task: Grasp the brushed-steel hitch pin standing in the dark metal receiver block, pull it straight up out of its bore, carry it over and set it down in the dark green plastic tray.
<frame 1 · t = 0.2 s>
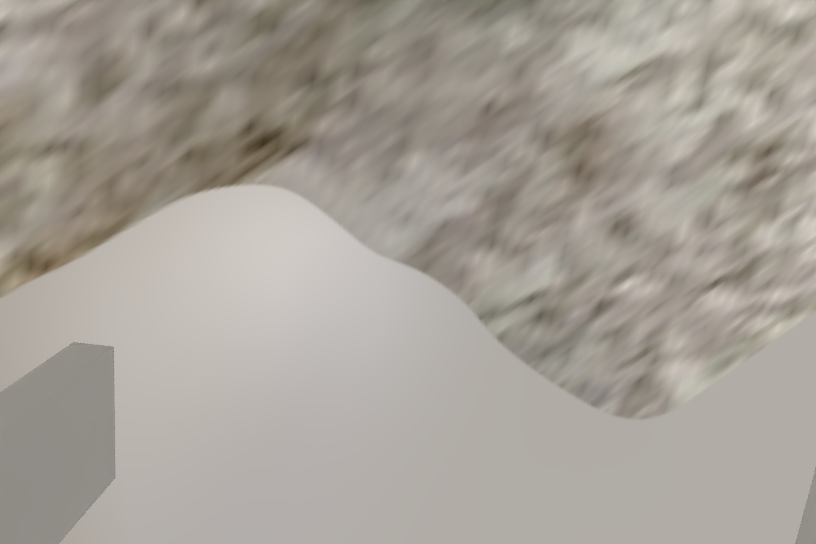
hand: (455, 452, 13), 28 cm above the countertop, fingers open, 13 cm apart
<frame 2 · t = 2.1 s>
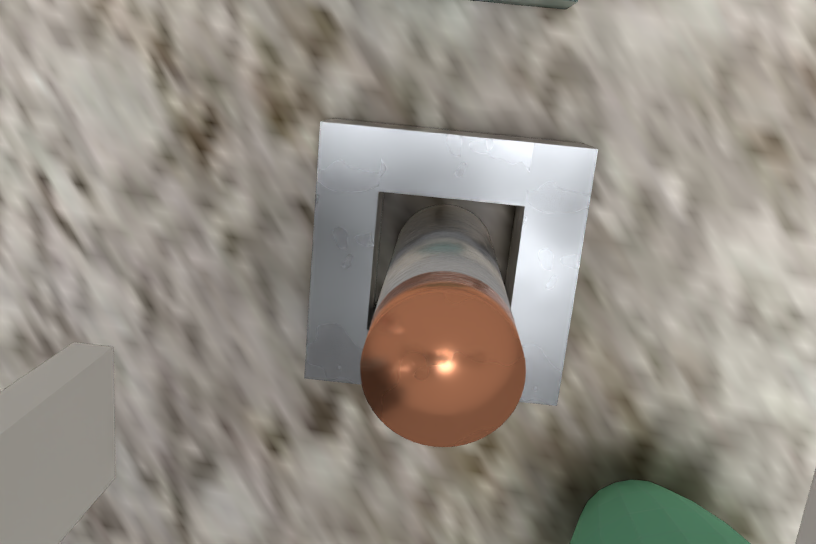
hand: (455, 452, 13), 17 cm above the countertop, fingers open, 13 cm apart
receiver block: (443, 251, 30), on the countertop
pin: (443, 295, 24), in the receiver block
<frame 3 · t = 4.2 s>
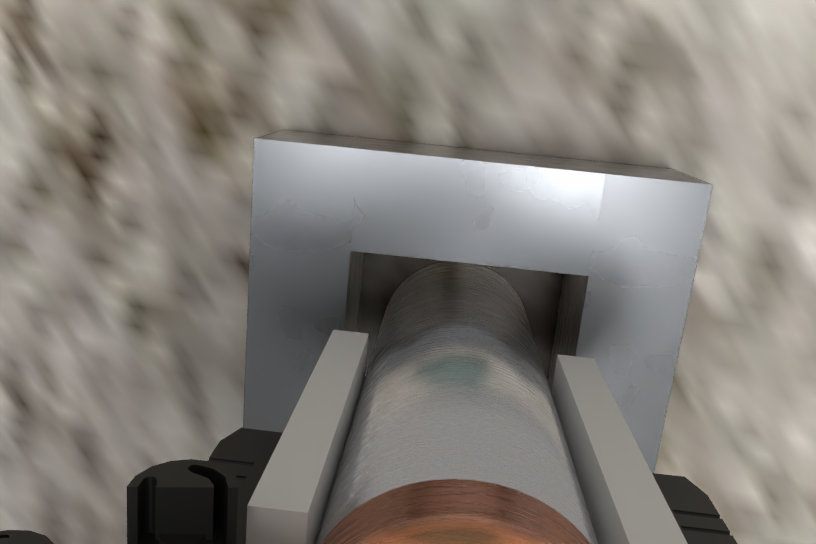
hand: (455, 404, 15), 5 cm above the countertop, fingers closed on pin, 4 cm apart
receiver block: (455, 331, 20), on the countertop
pin: (455, 446, 13), in the receiver block, touching gripper
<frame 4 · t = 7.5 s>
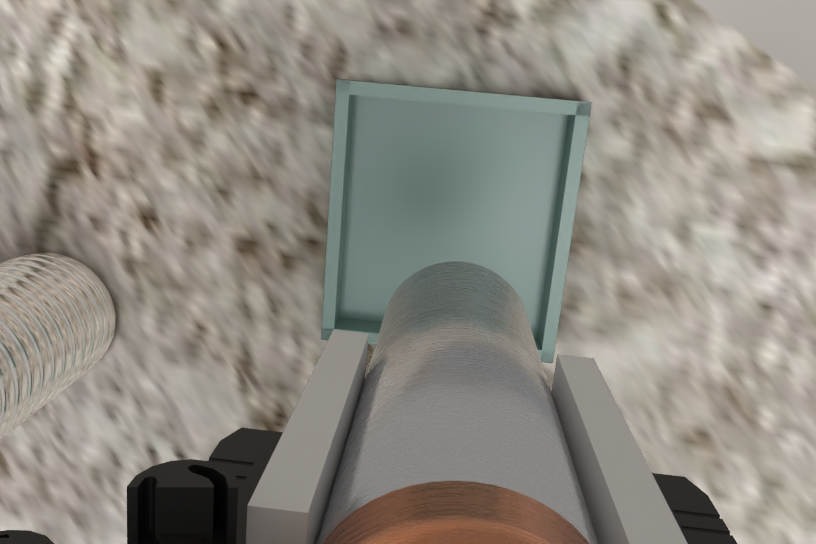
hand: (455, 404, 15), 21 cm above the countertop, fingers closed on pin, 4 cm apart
pin: (455, 447, 13), point 23 cm above the countertop, touching gripper
water bottle: (60, 309, 38), on the countertop
tray: (449, 217, 35), on the countertop
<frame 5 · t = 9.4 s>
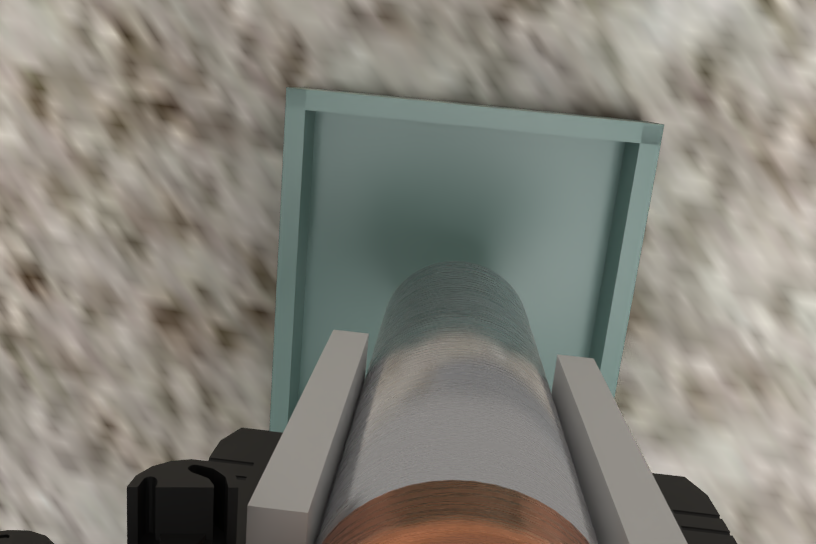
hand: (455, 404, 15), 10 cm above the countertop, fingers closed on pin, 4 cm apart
pin: (455, 446, 13), point 12 cm above the countertop, touching gripper
tray: (451, 281, 25), on the countertop
when the fingers open (7 cm above the countertop, at t = 10.8 s): pin drops 1 cm, resting on tray.
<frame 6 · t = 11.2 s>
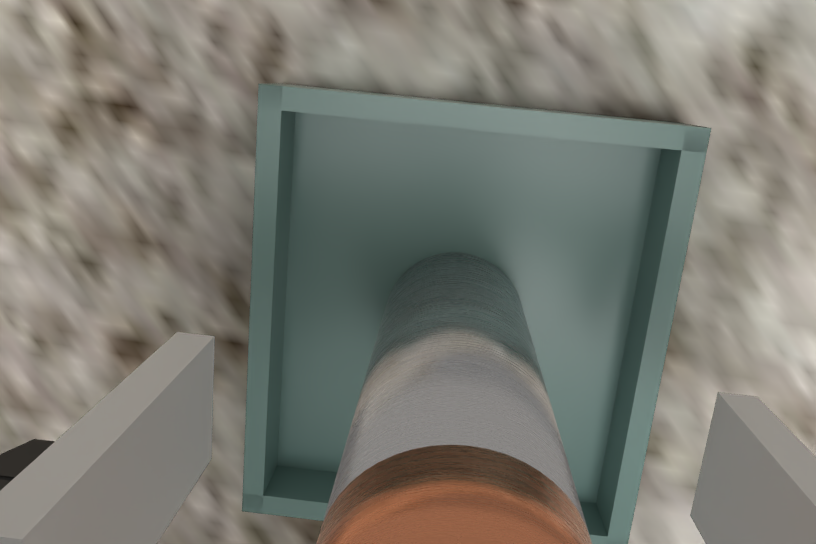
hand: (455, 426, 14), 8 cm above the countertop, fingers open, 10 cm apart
pin: (453, 423, 15), in the tray, point 7 cm above the countertop
tray: (454, 309, 22), on the countertop
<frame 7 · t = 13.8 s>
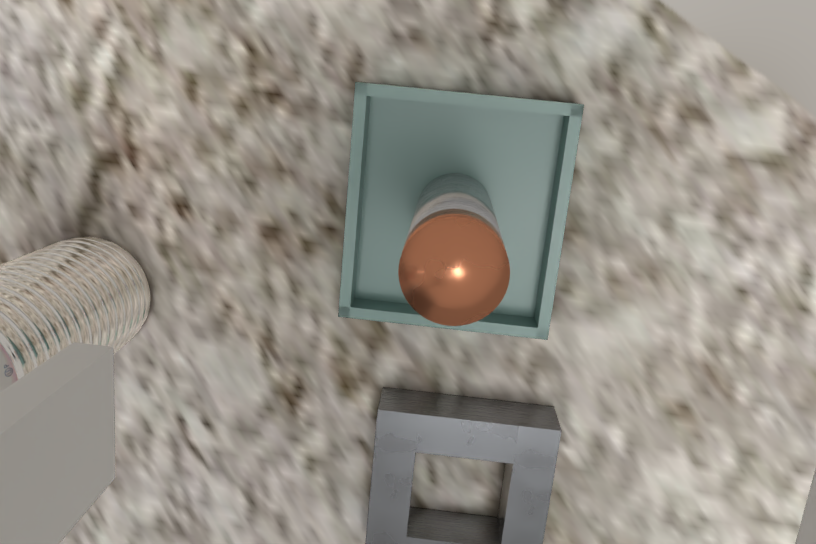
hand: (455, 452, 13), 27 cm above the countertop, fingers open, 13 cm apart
receiver block: (458, 472, 43), on the countertop
pin: (454, 235, 32), in the tray, point 7 cm above the countertop
water bottle: (99, 289, 42), on the countertop
tray: (455, 207, 39), on the countertop
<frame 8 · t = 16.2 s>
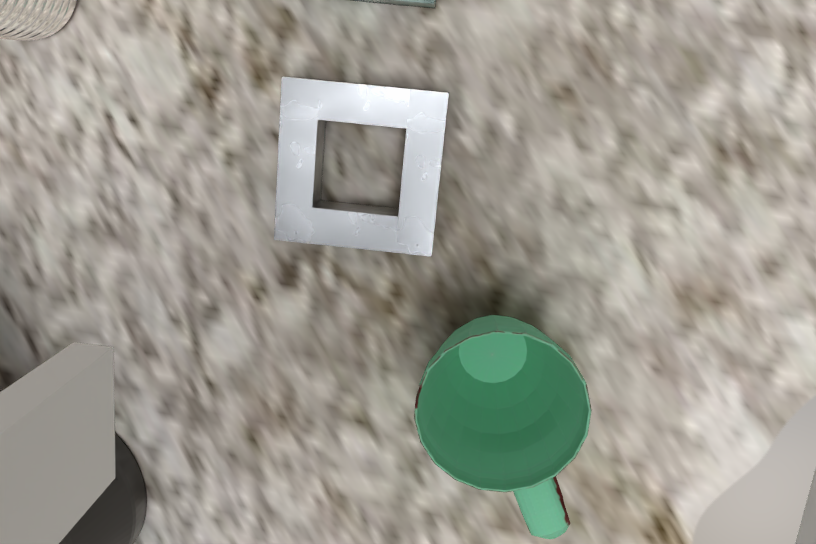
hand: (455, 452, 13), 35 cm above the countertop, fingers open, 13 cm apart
receiver block: (364, 163, 47), on the countertop
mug: (504, 379, 50), on the countertop
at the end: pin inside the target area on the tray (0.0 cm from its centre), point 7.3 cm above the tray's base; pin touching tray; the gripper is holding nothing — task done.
